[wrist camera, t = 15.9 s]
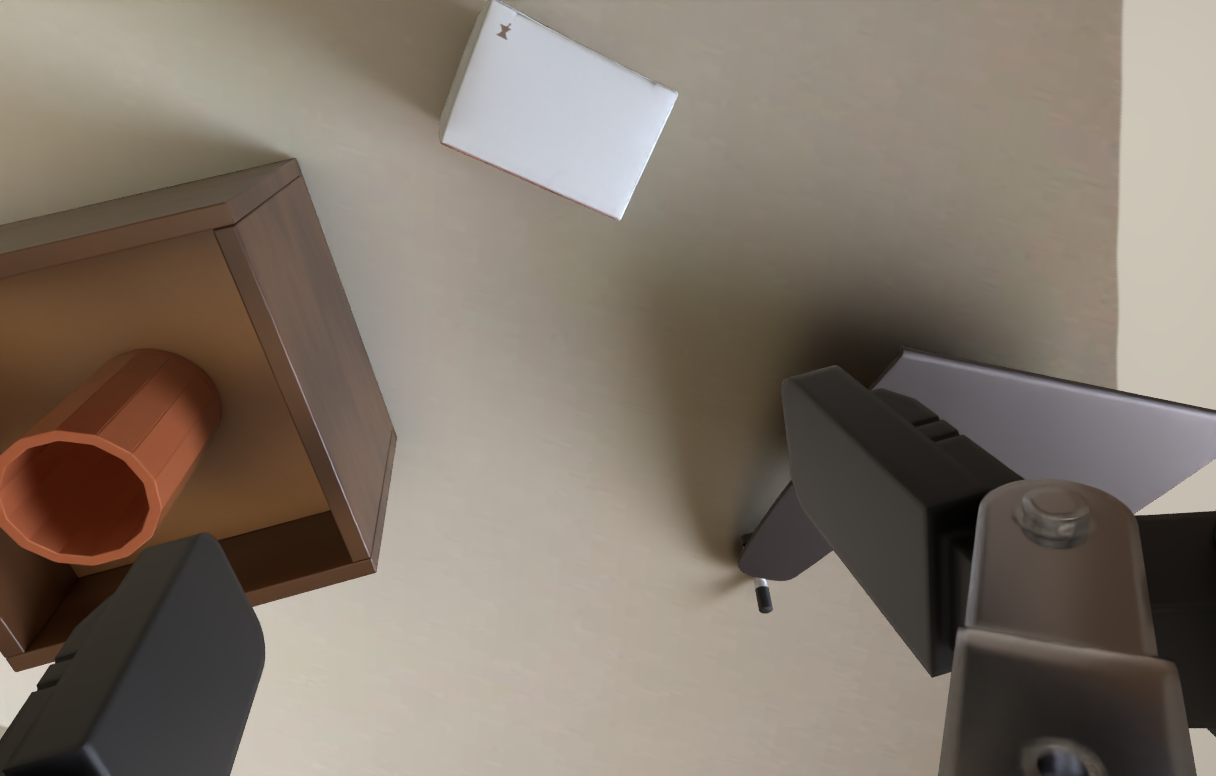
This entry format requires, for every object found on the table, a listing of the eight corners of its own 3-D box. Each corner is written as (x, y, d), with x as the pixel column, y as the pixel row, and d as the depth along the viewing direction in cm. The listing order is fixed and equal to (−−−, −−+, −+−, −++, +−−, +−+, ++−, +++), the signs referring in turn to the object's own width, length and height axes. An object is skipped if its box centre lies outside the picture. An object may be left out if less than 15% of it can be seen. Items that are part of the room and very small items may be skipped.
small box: (437, 121, 38) (432, 142, 29) (479, 9, 37) (488, -9, 27) (582, 187, 41) (621, 226, 31) (627, 85, 39) (682, 93, 30)
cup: (65, 366, 32) (-48, 455, 25) (193, 334, 33) (119, 413, 25) (122, 471, 34) (33, 582, 27) (242, 440, 35) (186, 541, 27)
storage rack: (-19, 229, 37) (-243, 309, 25) (296, 157, 38) (225, 201, 26) (134, 506, 43) (14, 673, 32) (397, 437, 45) (377, 573, 33)
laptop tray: (695, 492, 57) (712, 610, 51) (860, 254, 41) (915, 385, 34) (956, 528, 63) (1000, 637, 57) (1192, 332, 46) (1289, 456, 40)
